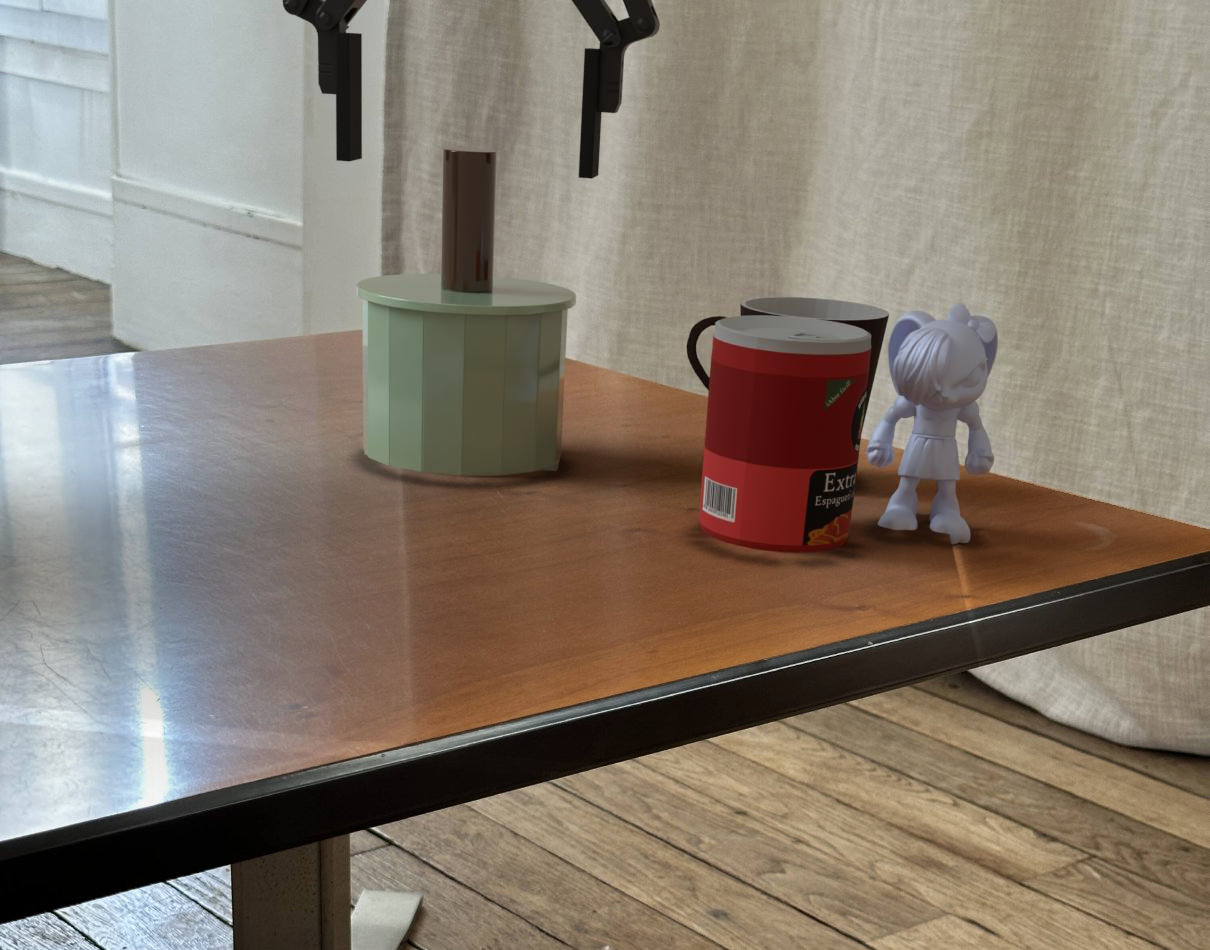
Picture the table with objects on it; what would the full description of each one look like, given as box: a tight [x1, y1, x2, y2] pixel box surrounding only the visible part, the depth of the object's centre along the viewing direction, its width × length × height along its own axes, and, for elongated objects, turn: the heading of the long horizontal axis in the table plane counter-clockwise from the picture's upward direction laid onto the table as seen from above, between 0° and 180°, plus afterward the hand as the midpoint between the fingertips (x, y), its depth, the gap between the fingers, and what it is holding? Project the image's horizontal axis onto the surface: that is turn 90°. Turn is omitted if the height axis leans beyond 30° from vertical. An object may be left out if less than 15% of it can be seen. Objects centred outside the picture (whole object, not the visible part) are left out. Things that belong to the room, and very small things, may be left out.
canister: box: [362, 299, 569, 477], centre depth 101 cm, size 12×12×10 cm
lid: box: [355, 147, 577, 315], centre depth 97 cm, size 13×13×9 cm
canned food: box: [698, 315, 871, 553], centre depth 88 cm, size 8×8×11 cm
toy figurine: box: [865, 303, 999, 545], centre depth 91 cm, size 7×6×12 cm
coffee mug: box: [686, 296, 890, 431], centre depth 102 cm, size 12×9×10 cm
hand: (468, 169), depth 96 cm, fingers open, 13 cm apart
